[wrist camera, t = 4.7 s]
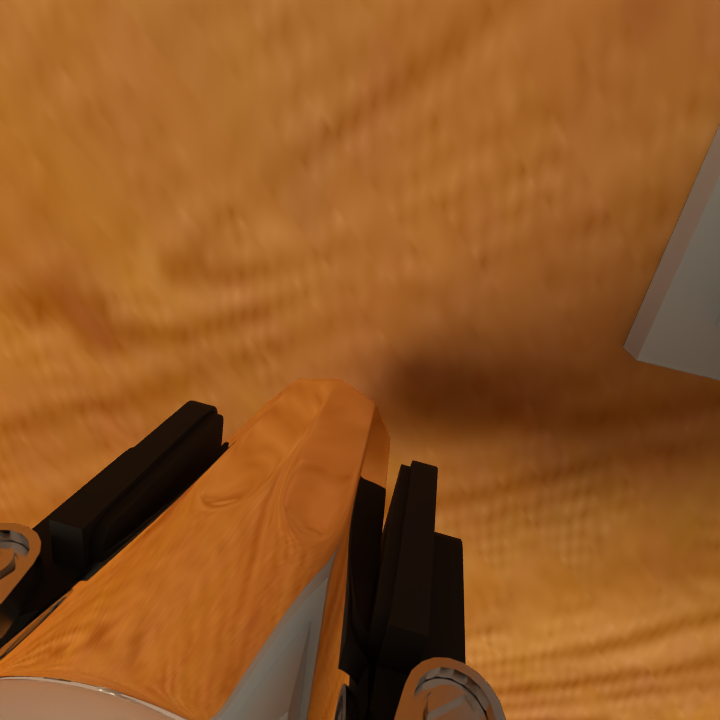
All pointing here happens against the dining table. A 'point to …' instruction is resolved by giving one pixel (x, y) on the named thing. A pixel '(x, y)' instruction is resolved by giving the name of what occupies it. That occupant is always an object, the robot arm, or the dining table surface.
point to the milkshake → (228, 584)
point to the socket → (686, 286)
